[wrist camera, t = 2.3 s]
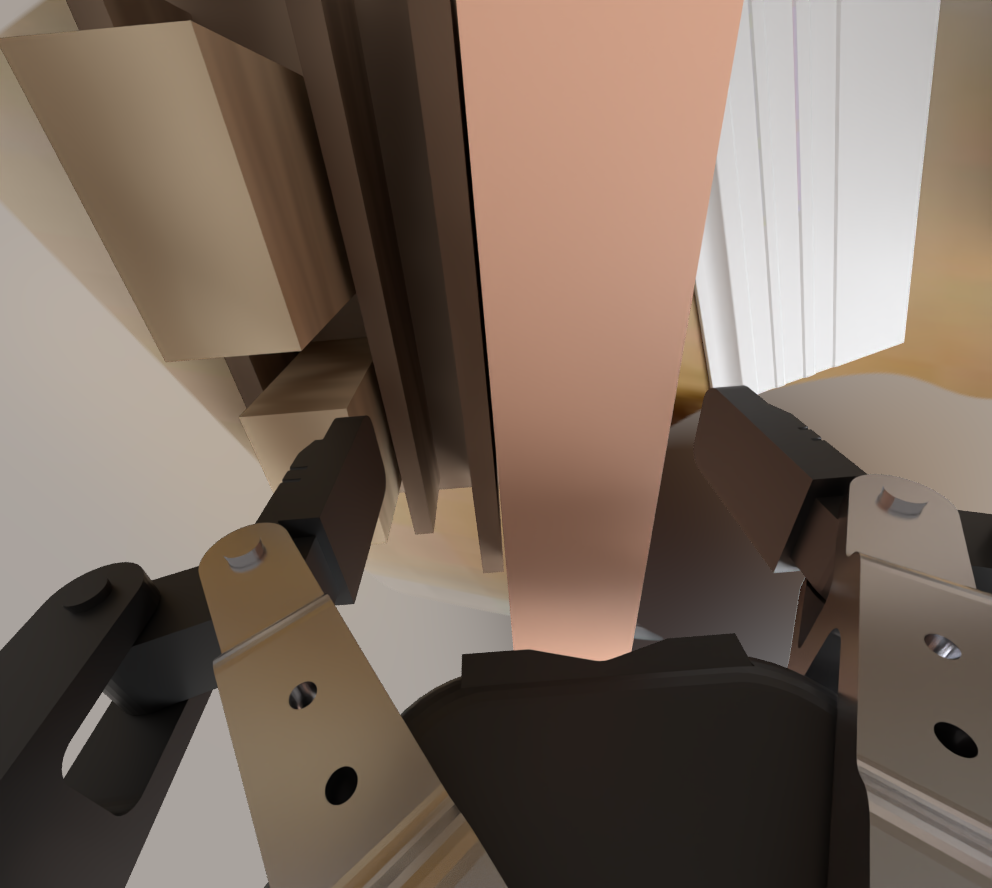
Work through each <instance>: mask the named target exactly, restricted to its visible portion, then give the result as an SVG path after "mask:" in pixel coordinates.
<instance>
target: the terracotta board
mask: <svg viewBox="0 0 992 888" xmlns="http://www.w3.org/2000/svg"><path fill="white" fill-rule="evenodd" d="M743 2H744V0H456V3H457V15H458V26H459V37H460V49H461V60H462V71H463V83H464V94H465V105H466V116H467V128H468V139H469V150H470V162H471V173H472V184H473V195H474V207H475V218H476V229H477V241H478V252H479V263H480V275H481V286H482V297H483V308H484V320H485V331H486V342H487V354H488V365H489V376H490V388H491V399H492V410H493V421H494V433H495V444H496V455H497V467H498V478H499V489H500V501H501V512H502V523H503V534H504V546H505V557H506V568H507V580H508V591H509V602H510V614H511V625H512V635H513V647H514V650H525V649H531V650H536V651H542V652H548V653H554V654H560V655H565V656H571V657H577V658H583V659H589V660H594V661H606V660H609V659H612V658H615V657H618V656H621V655H623V654H626V653H629V652H631V650H632V644H633V638H634V633H635V627H636V621H637V615H638V609H639V604H640V598H641V592H642V586H643V581H644V575H645V568H646V562H647V557H648V551H649V546H650V540H651V534H652V528H653V523H654V517H655V511H656V505H657V500H658V493H659V488H660V482H661V476H662V470H663V465H664V459H665V453H666V447H667V442H668V436H669V430H670V424H671V419H672V413H673V407H674V401H675V395H676V390H677V384H678V378H679V372H680V366H681V361H682V355H683V349H684V343H685V338H686V332H687V326H688V320H689V314H690V309H691V303H692V297H693V291H694V285H695V280H696V274H697V268H698V262H699V257H700V251H701V245H702V239H703V233H704V228H705V222H706V216H707V210H708V204H709V199H710V193H711V187H712V181H713V176H714V170H715V164H716V158H717V152H718V147H719V141H720V135H721V129H722V123H723V118H724V112H725V106H726V100H727V95H728V89H729V83H730V77H731V71H732V66H733V60H734V54H735V48H736V42H737V37H738V31H739V25H740V19H741V14H742V8H743Z"/></svg>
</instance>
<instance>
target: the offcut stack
mask: <svg viewBox="0 0 992 888" xmlns="http://www.w3.org/2000/svg"><path fill="white" fill-rule="evenodd" d="M0 48H1V50H2V52H3V54H4V55H5V57H6V59H7V61H8V63H9V65H10V67H11V69H12V71H13V73H14V74H15V76H16V78H17V80H18V82H19V84H20V86H21V88H22V90H23V92H24V93H25V95H26V97H27V99H28V101H29V103H30V105H31V107H32V109H33V111H34V113H35V114H36V116H37V118H38V120H39V122H40V124H41V126H42V128H43V130H44V132H45V133H46V135H47V137H48V139H49V141H50V143H51V145H52V147H53V149H54V151H55V152H56V154H57V156H58V158H59V160H60V162H61V164H62V166H63V168H64V170H65V172H66V173H67V175H68V177H69V179H70V181H71V183H72V185H73V187H74V189H75V191H76V192H77V194H78V196H79V198H80V200H81V202H82V204H83V206H84V208H85V210H86V212H87V213H88V215H89V217H90V219H91V221H92V223H93V225H94V227H95V229H96V231H97V232H98V234H99V236H100V238H101V240H102V242H103V244H104V246H105V248H106V250H107V251H108V253H109V255H110V257H111V259H112V261H113V263H114V265H115V267H116V269H117V271H118V272H119V274H120V276H121V278H122V280H123V282H124V284H125V286H126V288H127V290H128V291H129V293H130V295H131V297H132V299H133V301H134V303H135V305H136V307H137V309H138V310H139V312H140V314H141V316H142V318H143V320H144V322H145V324H146V326H147V328H148V330H149V331H150V333H151V335H152V337H153V339H154V341H155V343H156V345H157V347H158V349H159V350H160V352H161V354H162V356H163V358H164V360H165V362H173V361H185V360H197V359H209V358H221V357H233V356H245V355H257V354H269V353H281V352H293V351H301V352H300V353H299V354H298V355H297V356H296V357H295V358H294V359H293V360H292V361H291V362H290V364H289V365H288V366H287V367H286V368H285V369H284V370H283V371H282V372H281V373H280V374H279V375H278V376H277V377H276V378H275V379H274V381H273V382H272V383H271V384H270V385H269V386H268V387H267V388H266V389H265V390H264V391H263V392H262V393H261V394H260V395H259V396H258V397H257V399H256V400H255V401H254V402H253V403H252V404H251V405H250V406H249V407H248V408H247V409H246V410H245V411H244V412H243V413H242V414H241V416H240V417H239V419H240V421H241V424H242V426H243V428H244V430H245V432H246V434H247V437H248V439H249V441H250V443H251V445H252V447H253V450H254V452H255V454H256V456H257V458H258V460H259V463H260V465H261V467H262V469H263V471H264V473H265V476H266V478H267V480H268V482H269V484H270V486H271V488H272V491H273V493H274V492H275V491H276V489H277V487H278V486H279V484H280V483H282V479H283V478H284V476H285V474H286V473H287V471H290V466H291V465H292V463H293V461H294V460H295V458H296V456H297V455H298V453H299V452H301V451H302V450H303V449H304V448H306V447H307V446H308V445H309V444H311V443H312V442H313V441H314V440H321V439H323V438H324V436H325V435H326V433H327V431H328V429H329V427H330V426H331V424H332V422H333V420H334V419H335V418H340V417H352V416H365V415H367V416H369V417H370V419H371V421H372V423H373V427H374V430H375V434H376V438H377V442H378V445H379V449H380V453H381V457H382V460H383V464H384V468H385V474H386V491H385V495H384V499H383V503H382V506H381V510H380V513H379V517H378V521H377V524H376V528H375V531H374V535H373V539H372V542H371V545H373V544H386V543H387V540H388V536H389V532H390V528H391V524H392V520H393V515H394V511H395V507H396V503H397V499H398V495H399V491H400V486H401V482H402V478H401V474H400V470H399V466H398V462H397V457H396V453H395V449H394V445H393V441H392V437H391V433H390V429H389V425H388V421H387V416H386V412H385V408H384V404H383V400H382V396H381V392H380V388H379V384H378V380H377V376H376V371H375V367H374V363H373V359H372V355H371V351H370V347H369V343H368V339H367V337H363V338H351V339H339V340H327V341H315V342H310V341H311V340H312V339H313V338H314V337H315V336H316V335H317V334H318V333H319V332H320V331H321V330H322V329H323V328H324V326H325V325H326V324H327V323H328V322H329V321H330V320H331V319H332V318H333V317H334V316H335V315H336V314H337V313H338V312H339V311H340V309H341V308H342V307H343V306H344V305H345V304H346V303H347V302H348V301H349V300H350V299H351V298H352V297H353V296H354V295H355V294H356V290H355V285H354V281H353V277H352V273H351V269H350V265H349V261H348V257H347V253H346V249H345V245H344V240H343V236H342V232H341V228H340V224H339V220H338V216H337V212H336V208H335V204H334V200H333V195H332V191H331V187H330V183H329V179H328V175H327V171H326V167H325V163H324V159H323V154H322V150H321V146H320V142H319V138H318V134H317V130H316V126H315V122H314V118H313V114H312V109H311V105H310V101H309V97H308V93H307V89H306V85H305V81H304V77H303V76H302V75H300V74H298V73H296V72H294V71H292V70H290V69H288V68H286V67H284V66H282V65H280V64H278V63H276V62H273V61H271V60H269V59H267V58H265V57H263V56H261V55H259V54H257V53H255V52H253V51H251V50H249V49H247V48H245V47H243V46H241V45H239V44H237V43H235V42H233V41H231V40H229V39H227V38H225V37H223V36H221V35H219V34H217V33H215V32H213V31H211V30H209V29H207V28H205V27H203V26H201V25H199V24H197V23H195V22H193V21H191V20H189V21H179V22H168V23H157V24H146V25H135V26H124V27H114V28H103V29H92V30H81V31H70V32H60V33H49V34H38V35H27V36H16V37H5V38H0Z"/></svg>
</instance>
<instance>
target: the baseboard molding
mask: <svg viewBox="0 0 992 888" xmlns="http://www.w3.org/2000/svg"><path fill="white" fill-rule="evenodd" d="M940 2H941V0H744V2H743V8H742V14H741V19H740V25H739V31H738V37H737V42H736V48H735V54H734V60H733V66H732V71H731V77H730V83H729V89H728V95H727V100H726V106H725V112H724V118H723V123H722V129H721V135H720V141H719V147H718V152H717V158H716V164H715V170H714V176H713V181H712V187H711V193H710V199H709V204H708V210H707V216H706V222H705V228H704V233H703V239H702V245H701V251H700V257H699V262H698V268H697V274H696V280H695V285H694V291H695V297H696V303H697V309H698V315H699V321H700V327H701V334H702V340H703V346H704V352H705V358H706V364H707V370H708V376H709V382H710V388H716V387H728V386H740V385H745V386H747V387H749V388H750V389H751V390H752V391H754V392H755V393H756V394H757V395H758V394H759V393H761V392H764V391H767V390H770V389H773V388H778V387H781V386H784V385H785V384H787V383H790V382H792V381H795V380H798V379H801V378H806V377H809V376H812V375H814V374H815V373H817V372H820V371H823V370H826V369H829V368H831V367H837V366H840V365H842V364H845V363H848V362H851V361H853V360H856V359H859V358H862V357H865V356H867V355H870V354H873V353H876V352H879V351H881V350H884V349H887V348H890V347H892V346H895V345H898V344H901V343H904V337H905V328H906V318H907V309H908V300H909V291H910V281H911V272H912V263H913V253H914V244H915V235H916V225H917V216H918V207H919V198H920V188H921V179H922V170H923V160H924V151H925V142H926V132H927V123H928V114H929V105H930V95H931V86H932V77H933V67H934V58H935V49H936V40H937V30H938V21H939V12H940Z"/></svg>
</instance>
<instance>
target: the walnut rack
mask: <svg viewBox="0 0 992 888" xmlns="http://www.w3.org/2000/svg"><path fill="white" fill-rule="evenodd" d="M66 2H67V4H68V6H69V8H70V11H71V13H72V15H73V17H74V20H75V22H76V24H77V26H78V29H79V31H81V30H92V29H103V28H114V27H124V26H135V25H146V24H157V23H168V22H179V21H189V20H191V21H193V22H195V23H197V24H199V25H201V26H203V27H205V28H207V29H209V30H211V31H213V32H215V33H217V34H219V35H221V36H223V37H225V38H227V39H229V40H231V41H233V42H235V43H237V44H239V45H241V46H243V47H245V48H247V49H249V50H251V51H253V52H255V53H257V54H259V55H261V56H263V57H265V58H267V59H269V60H271V61H273V62H276V63H278V64H280V65H282V66H284V67H286V68H288V69H290V70H292V71H294V72H296V73H298V74H300V75H302V76H303V77H304V81H305V85H306V89H307V93H308V97H309V101H310V105H311V109H312V114H313V118H314V122H315V126H316V130H317V134H318V138H319V142H320V146H321V150H322V154H323V159H324V163H325V167H326V171H327V175H328V179H329V183H330V187H331V191H332V195H333V200H334V204H335V208H336V212H337V216H338V220H339V224H340V228H341V232H342V236H343V240H344V245H345V249H346V253H347V257H348V261H349V265H350V269H351V273H352V277H353V281H354V285H355V290H356V294H355V295H354V296H353V297H352V298H351V299H350V300H349V301H348V302H347V303H346V304H345V305H344V306H343V307H342V308H341V309H340V311H339V312H338V313H337V314H336V315H335V316H334V317H333V318H332V319H331V320H330V321H329V322H328V323H327V324H326V325H325V326H324V328H323V329H322V330H321V331H320V332H319V333H318V334H317V335H316V336H315V337H314V338H313V339H312V340H311V341H310V342H315V341H327V340H339V339H351V338H363V337H367V339H368V343H369V347H370V351H371V355H372V359H373V363H374V367H375V371H376V376H377V380H378V384H379V388H380V392H381V396H382V400H383V404H384V408H385V412H386V416H387V421H388V425H389V429H390V433H391V437H392V441H393V445H394V449H395V453H396V457H397V462H398V466H399V470H400V474H401V478H402V482H401V486H400V491H399V493H401V492H405V494H406V498H407V502H408V507H409V511H410V515H411V519H412V523H413V527H414V531H415V534H428V533H434V525H435V517H436V509H437V500H438V492H439V489H452V488H465V487H472V492H473V500H474V507H475V515H476V522H477V530H478V537H479V545H480V552H481V560H482V567H483V573H491V572H504V567H503V551H502V535H501V519H500V502H499V486H498V485H499V478H498V467H497V455H496V444H495V433H494V421H493V410H492V399H491V388H490V376H489V365H488V354H487V342H486V331H485V320H484V308H483V297H482V286H481V275H480V263H479V252H478V241H477V229H476V218H475V207H474V195H473V184H472V173H471V162H470V150H469V139H468V128H467V116H466V105H465V94H464V83H463V71H462V60H461V49H460V37H459V26H458V15H457V3H456V0H66ZM300 352H301V351H293V352H281V353H269V354H257V355H245V356H233V357H224V358H225V360H226V363H227V365H228V367H229V369H230V372H231V374H232V376H233V378H234V381H235V383H236V385H237V387H238V390H239V392H240V394H241V396H242V399H243V401H244V403H245V405H246V408H248V407H249V406H250V405H251V404H252V403H253V402H254V401H255V400H256V399H257V397H258V396H259V395H260V394H261V393H262V392H263V391H264V390H265V389H266V388H267V387H268V386H269V385H270V384H271V383H272V382H273V381H274V379H275V378H276V377H277V376H278V375H279V374H280V373H281V372H282V371H283V370H284V369H285V368H286V367H287V366H288V365H289V364H290V362H291V361H292V360H293V359H294V358H295V357H296V356H297V355H298V354H299V353H300Z"/></svg>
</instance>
